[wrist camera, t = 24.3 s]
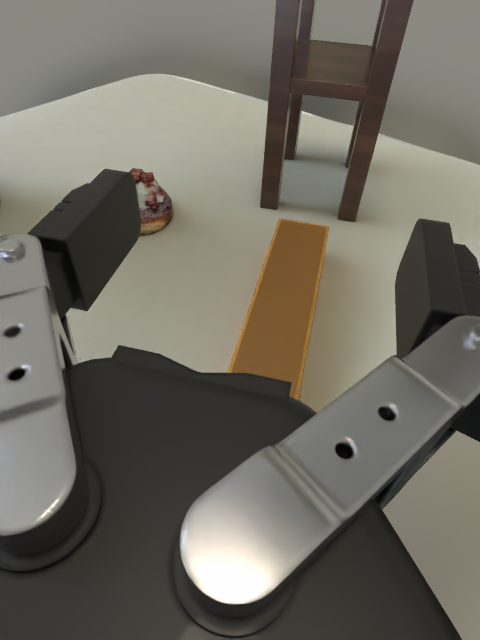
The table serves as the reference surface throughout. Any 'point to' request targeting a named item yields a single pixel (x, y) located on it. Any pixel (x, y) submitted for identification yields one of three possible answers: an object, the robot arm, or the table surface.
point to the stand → (328, 90)
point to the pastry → (151, 202)
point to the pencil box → (283, 306)
